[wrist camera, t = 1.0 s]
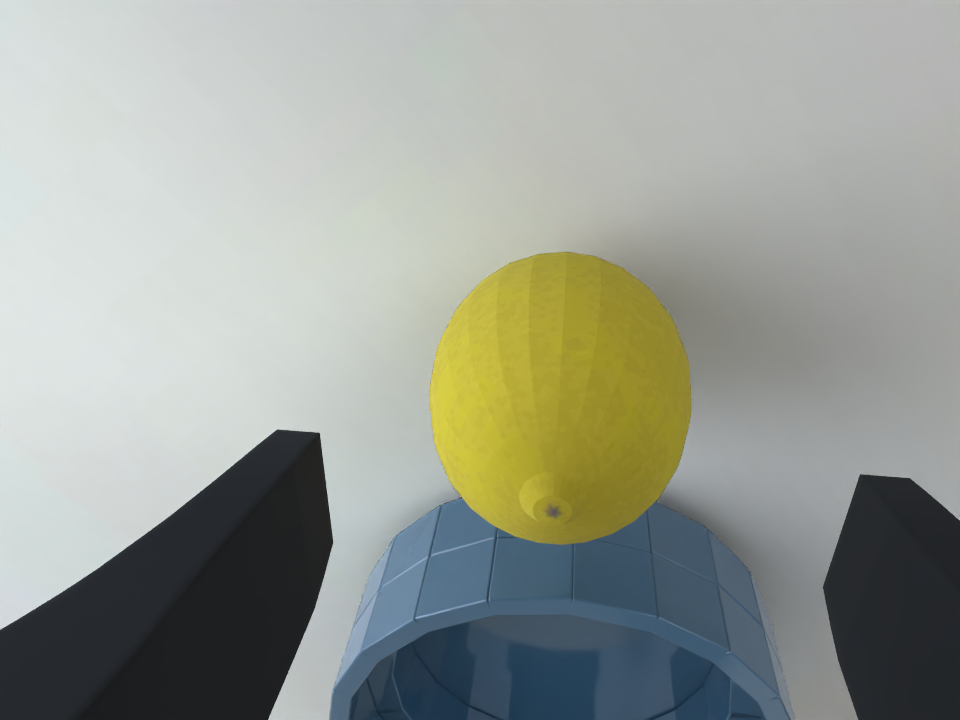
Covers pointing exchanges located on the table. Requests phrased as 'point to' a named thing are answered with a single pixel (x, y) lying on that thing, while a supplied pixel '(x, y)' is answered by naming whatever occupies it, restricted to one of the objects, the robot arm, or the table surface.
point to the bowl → (560, 627)
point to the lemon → (560, 398)
